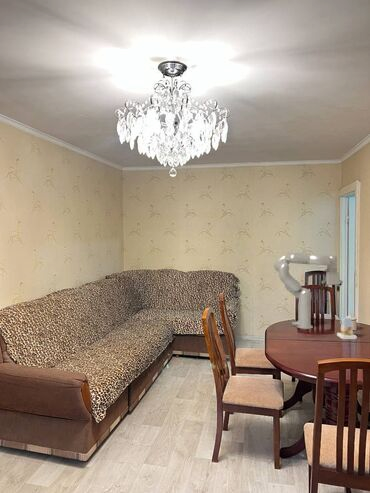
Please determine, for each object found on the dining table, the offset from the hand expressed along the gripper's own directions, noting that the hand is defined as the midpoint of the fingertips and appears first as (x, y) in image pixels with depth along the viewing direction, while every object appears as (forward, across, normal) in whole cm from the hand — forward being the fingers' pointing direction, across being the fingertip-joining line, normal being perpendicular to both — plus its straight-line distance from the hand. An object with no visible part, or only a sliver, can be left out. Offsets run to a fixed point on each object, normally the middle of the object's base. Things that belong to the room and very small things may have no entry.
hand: (332, 291), depth 299 cm
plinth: (+28, -3, -35) cm, 45 cm away
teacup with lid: (+28, +8, -12) cm, 32 cm away
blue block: (+20, -3, -35) cm, 41 cm away
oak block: (+26, -3, -35) cm, 44 cm away
